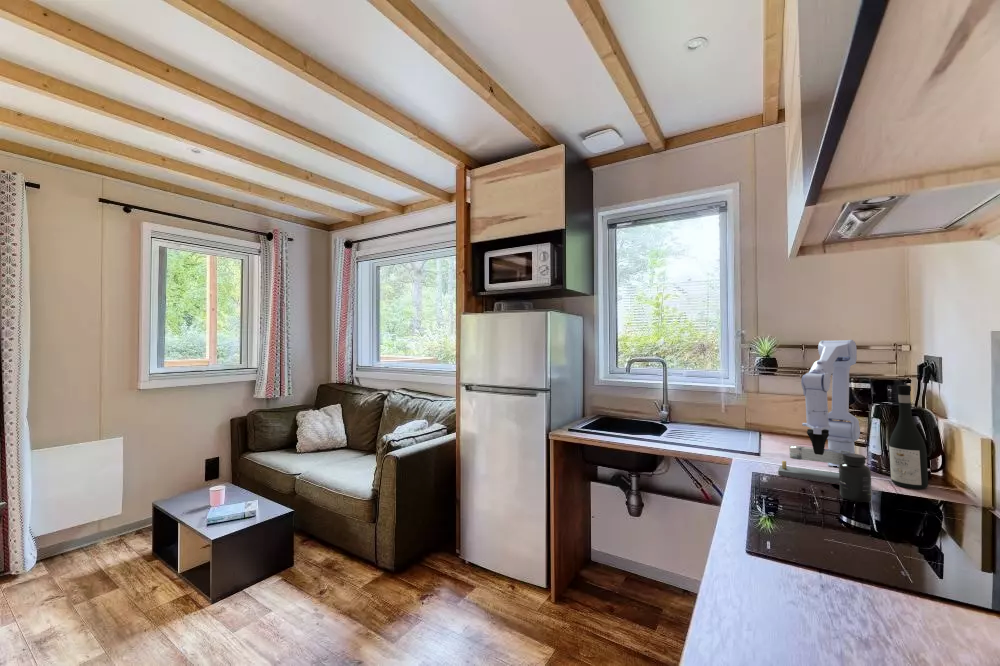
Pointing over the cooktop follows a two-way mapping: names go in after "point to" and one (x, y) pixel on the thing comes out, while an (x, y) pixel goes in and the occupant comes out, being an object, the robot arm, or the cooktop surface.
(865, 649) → the cooktop surface
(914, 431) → the wine bottle
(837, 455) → the grey long block
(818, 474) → the tool board
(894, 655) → the cooktop surface
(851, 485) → the supplement bottle
